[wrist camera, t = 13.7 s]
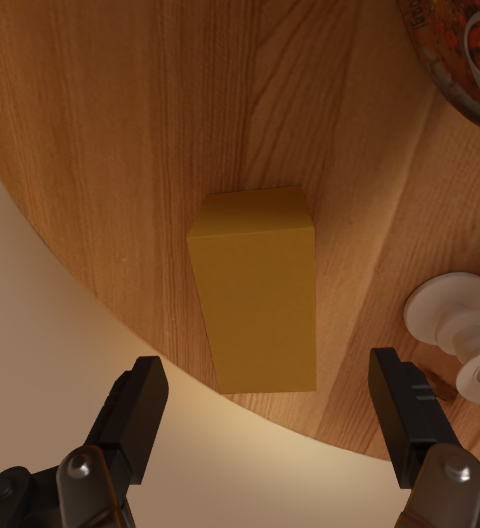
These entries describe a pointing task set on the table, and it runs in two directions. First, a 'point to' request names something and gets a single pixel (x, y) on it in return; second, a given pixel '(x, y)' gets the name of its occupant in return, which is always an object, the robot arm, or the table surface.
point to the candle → (450, 323)
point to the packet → (257, 289)
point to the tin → (448, 48)
